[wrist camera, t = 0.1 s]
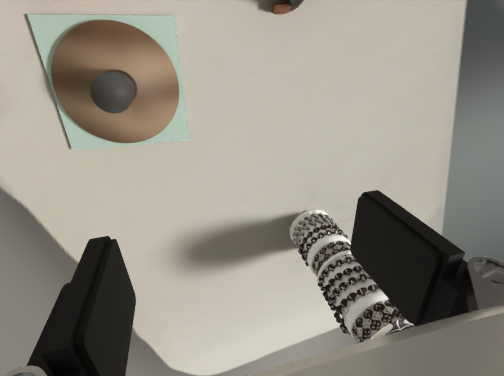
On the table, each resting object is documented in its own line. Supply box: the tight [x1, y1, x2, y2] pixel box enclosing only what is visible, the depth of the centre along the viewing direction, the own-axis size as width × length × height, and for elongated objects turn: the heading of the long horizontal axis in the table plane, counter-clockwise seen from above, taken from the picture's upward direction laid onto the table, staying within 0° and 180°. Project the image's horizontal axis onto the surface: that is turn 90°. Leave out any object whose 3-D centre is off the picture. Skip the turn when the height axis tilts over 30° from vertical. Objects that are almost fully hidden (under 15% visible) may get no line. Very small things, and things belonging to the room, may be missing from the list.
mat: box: [27, 14, 189, 150], centre depth 34 cm, size 15×15×1 cm
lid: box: [51, 20, 179, 143], centre depth 32 cm, size 14×14×6 cm
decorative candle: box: [290, 209, 415, 343], centre depth 42 cm, size 9×9×25 cm
